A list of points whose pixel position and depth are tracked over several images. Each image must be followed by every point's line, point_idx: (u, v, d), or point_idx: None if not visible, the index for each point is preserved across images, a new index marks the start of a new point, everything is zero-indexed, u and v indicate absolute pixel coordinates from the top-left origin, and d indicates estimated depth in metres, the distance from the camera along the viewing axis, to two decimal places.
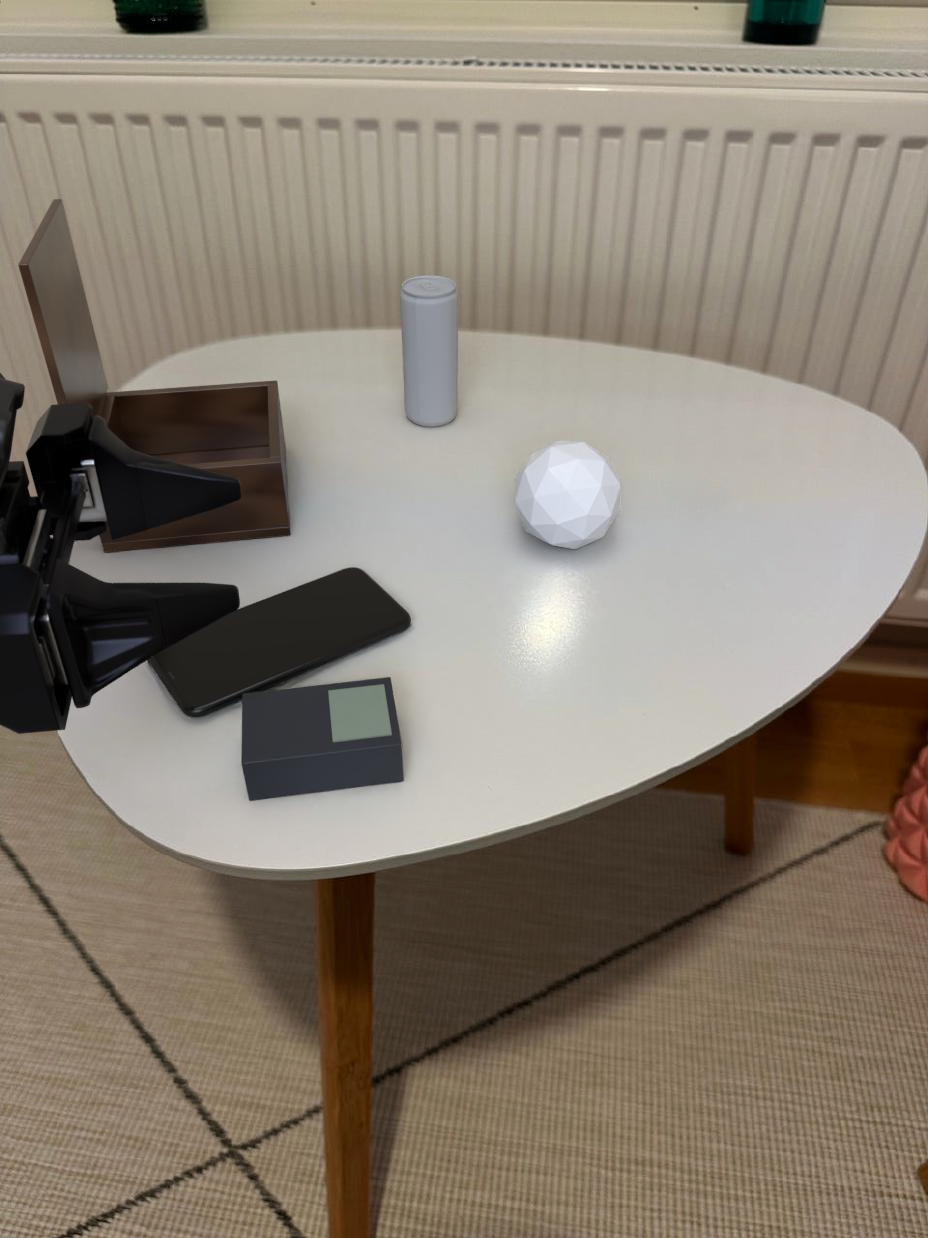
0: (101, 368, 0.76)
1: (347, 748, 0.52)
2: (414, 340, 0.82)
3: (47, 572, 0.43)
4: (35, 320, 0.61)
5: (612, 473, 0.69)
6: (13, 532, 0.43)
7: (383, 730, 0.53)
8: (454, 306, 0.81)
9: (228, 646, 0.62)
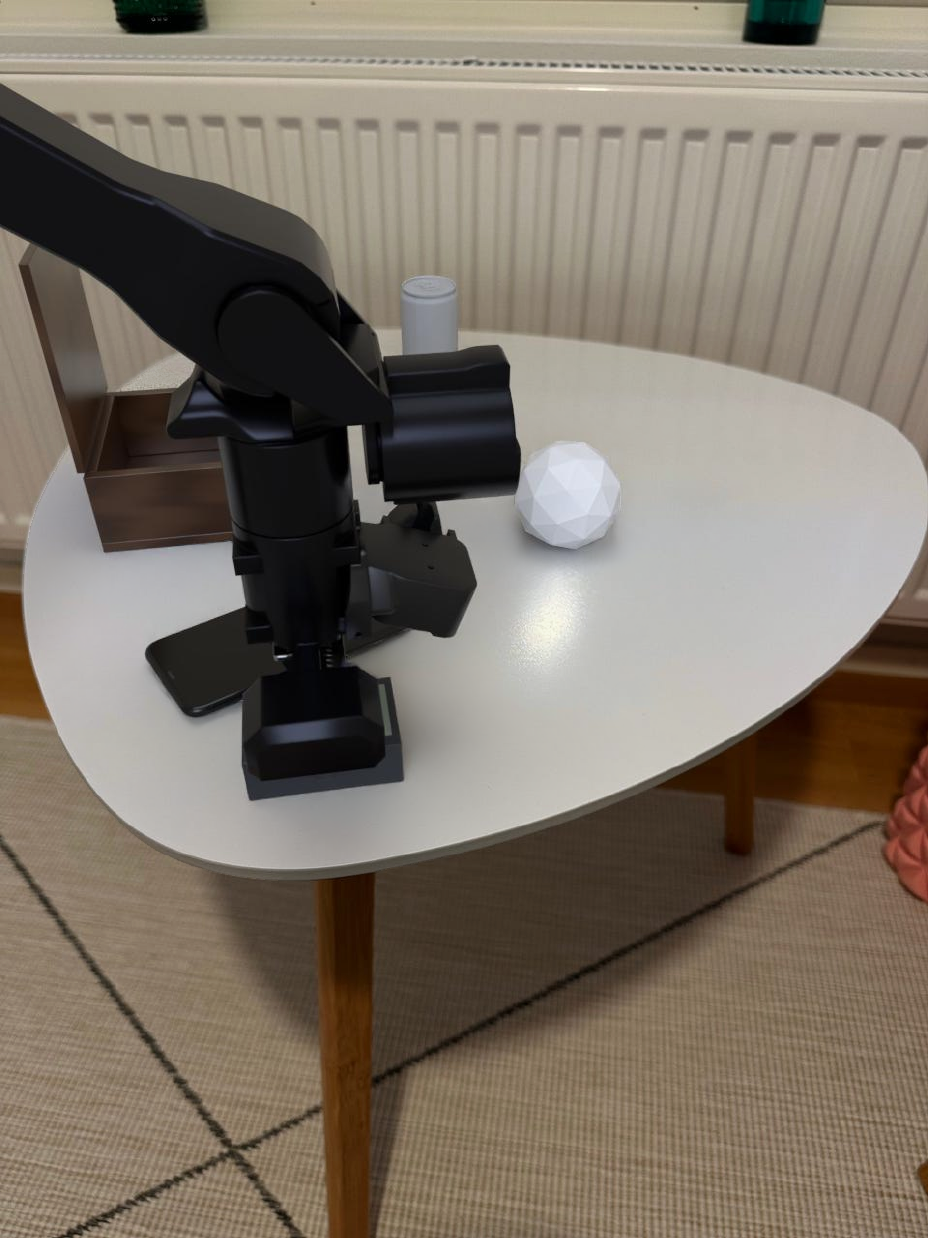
0: (101, 368, 0.76)
1: None
2: (414, 340, 0.82)
3: None
4: (35, 320, 0.61)
5: (612, 473, 0.69)
6: None
7: None
8: (454, 306, 0.81)
9: (228, 646, 0.62)
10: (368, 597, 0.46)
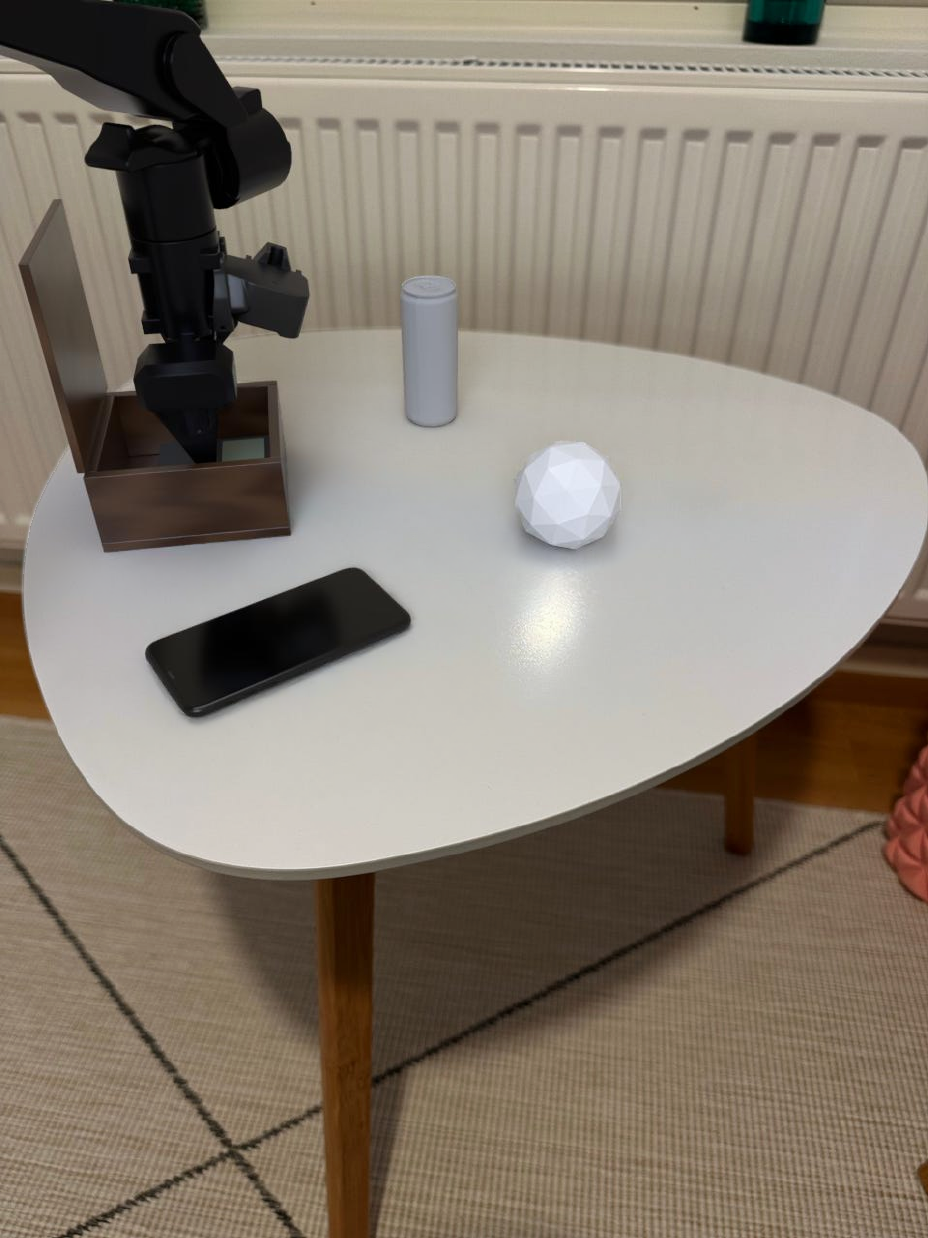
0: (101, 368, 0.76)
1: None
2: (414, 340, 0.82)
3: None
4: (35, 320, 0.61)
5: (612, 473, 0.69)
6: None
7: None
8: (454, 306, 0.81)
9: (228, 646, 0.62)
10: (227, 295, 0.65)
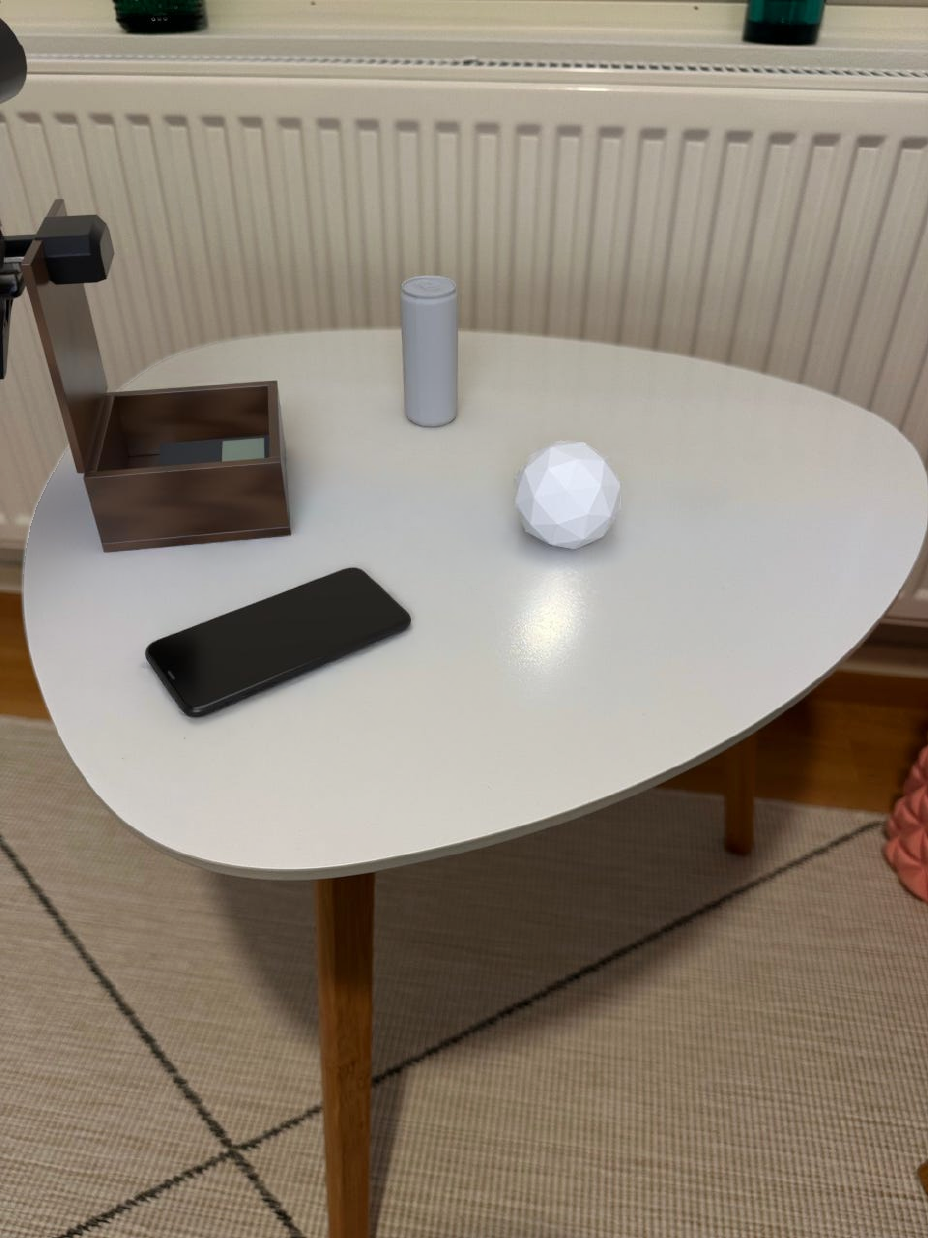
0: (101, 368, 0.76)
1: None
2: (414, 340, 0.82)
3: None
4: (37, 320, 0.61)
5: (612, 473, 0.69)
6: None
7: None
8: (454, 306, 0.81)
9: (228, 646, 0.62)
10: None
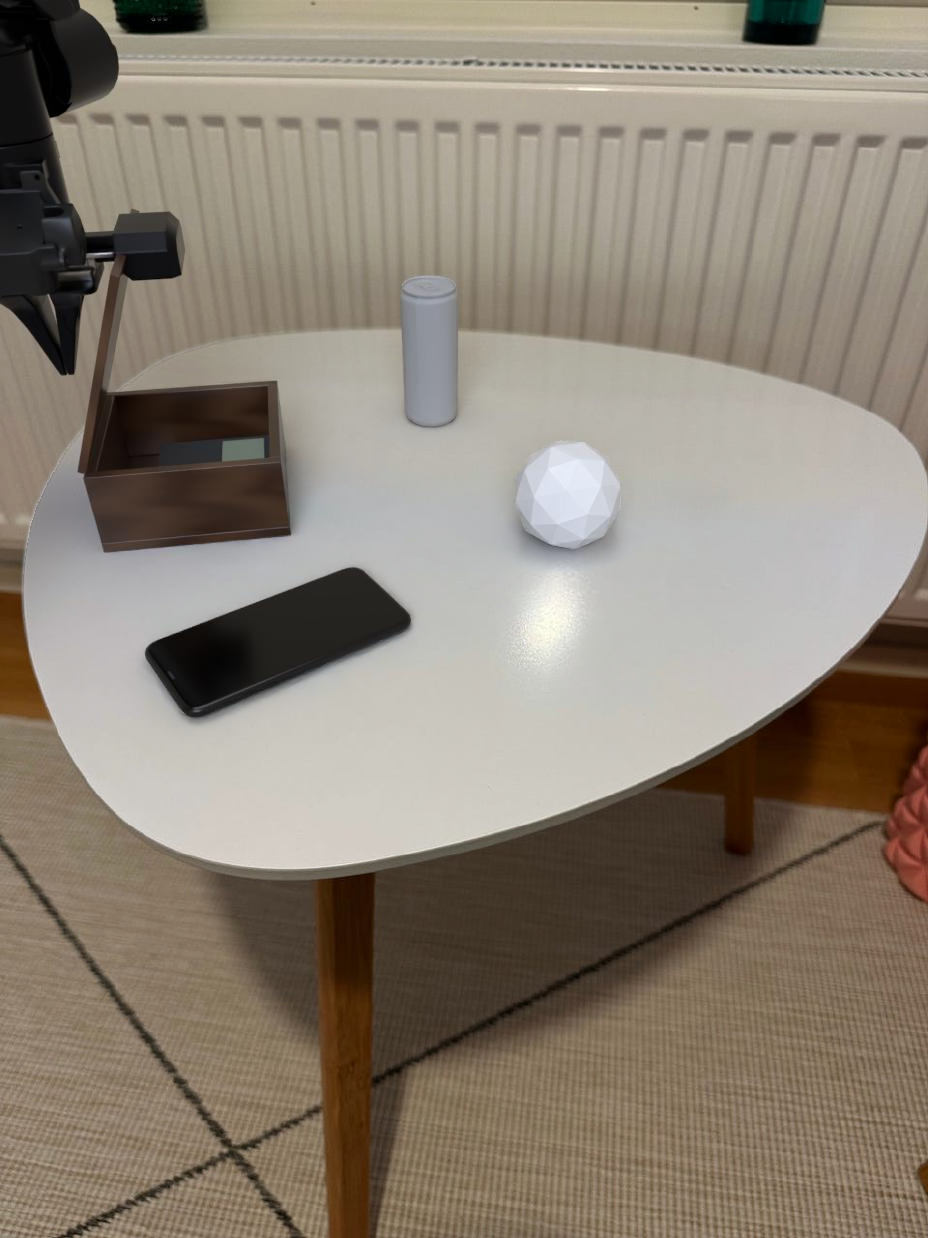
0: (111, 370, 0.76)
1: None
2: (414, 340, 0.82)
3: None
4: (103, 326, 0.61)
5: (612, 473, 0.69)
6: None
7: None
8: (454, 306, 0.81)
9: (228, 646, 0.62)
10: None
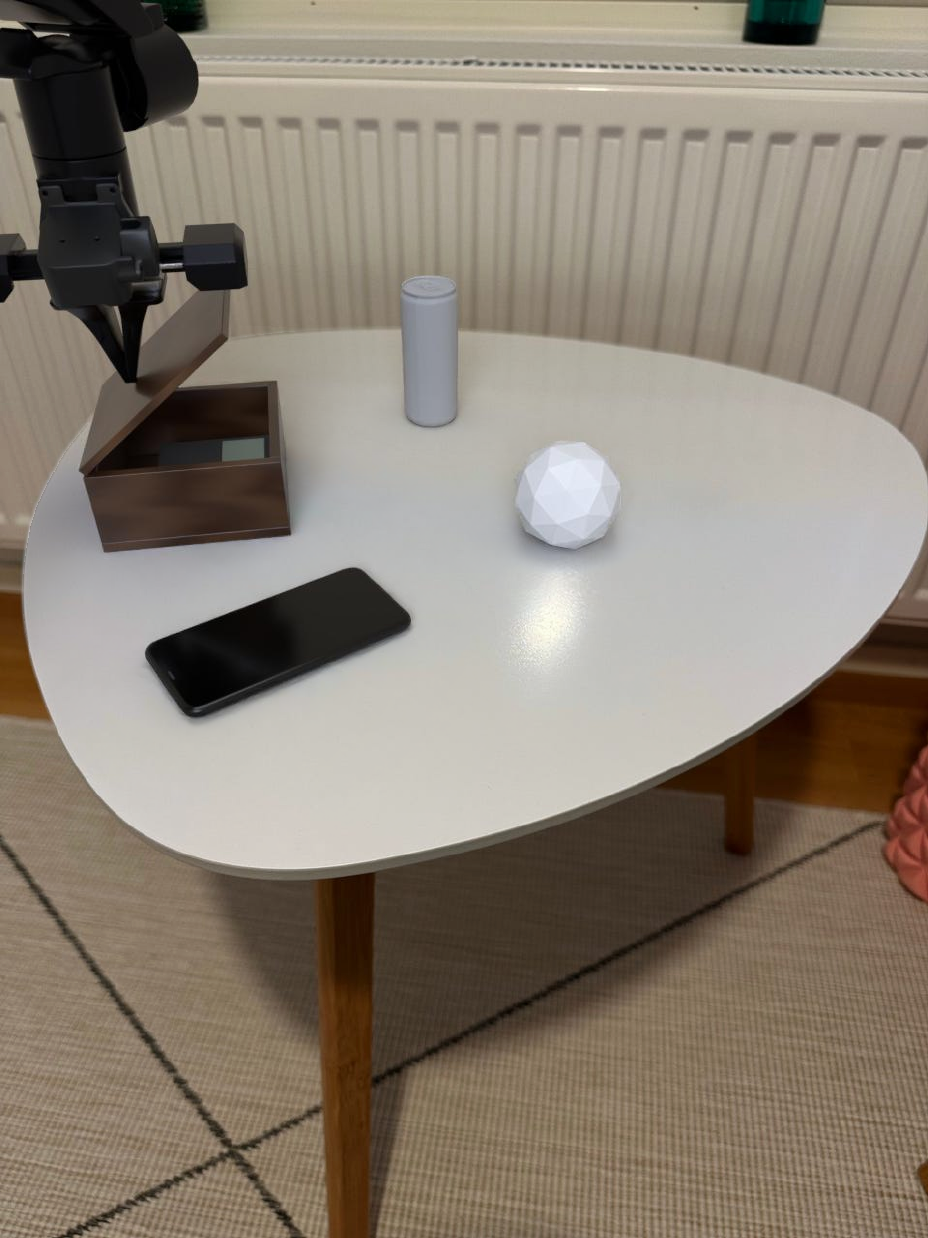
0: None
1: None
2: (414, 340, 0.82)
3: None
4: (186, 369, 0.64)
5: (612, 473, 0.69)
6: None
7: None
8: (454, 306, 0.81)
9: (228, 646, 0.62)
10: (39, 226, 0.61)
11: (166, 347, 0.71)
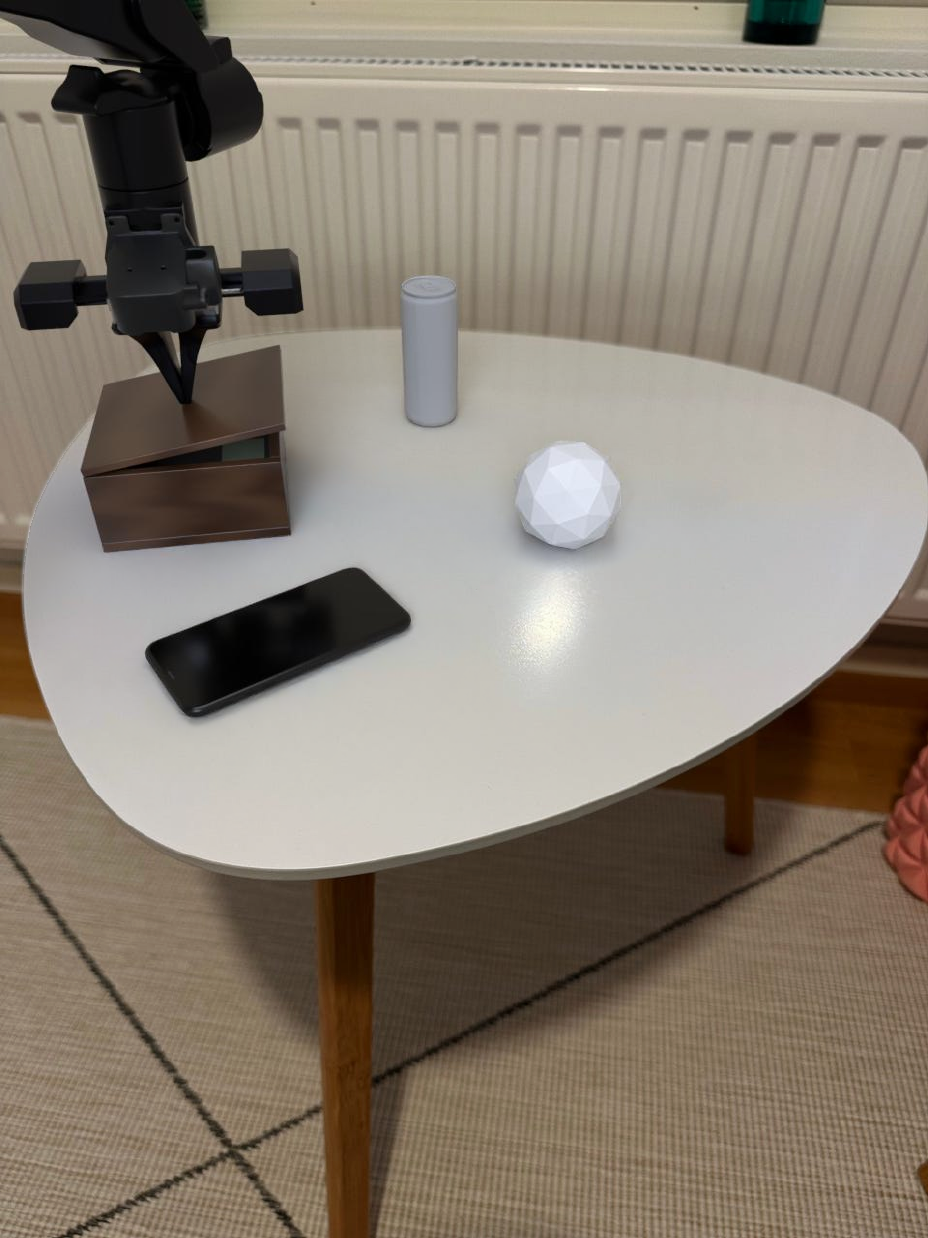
0: None
1: None
2: (414, 340, 0.82)
3: None
4: (235, 435, 0.68)
5: (612, 473, 0.69)
6: None
7: None
8: (454, 306, 0.81)
9: (228, 646, 0.62)
10: None
11: (202, 394, 0.73)
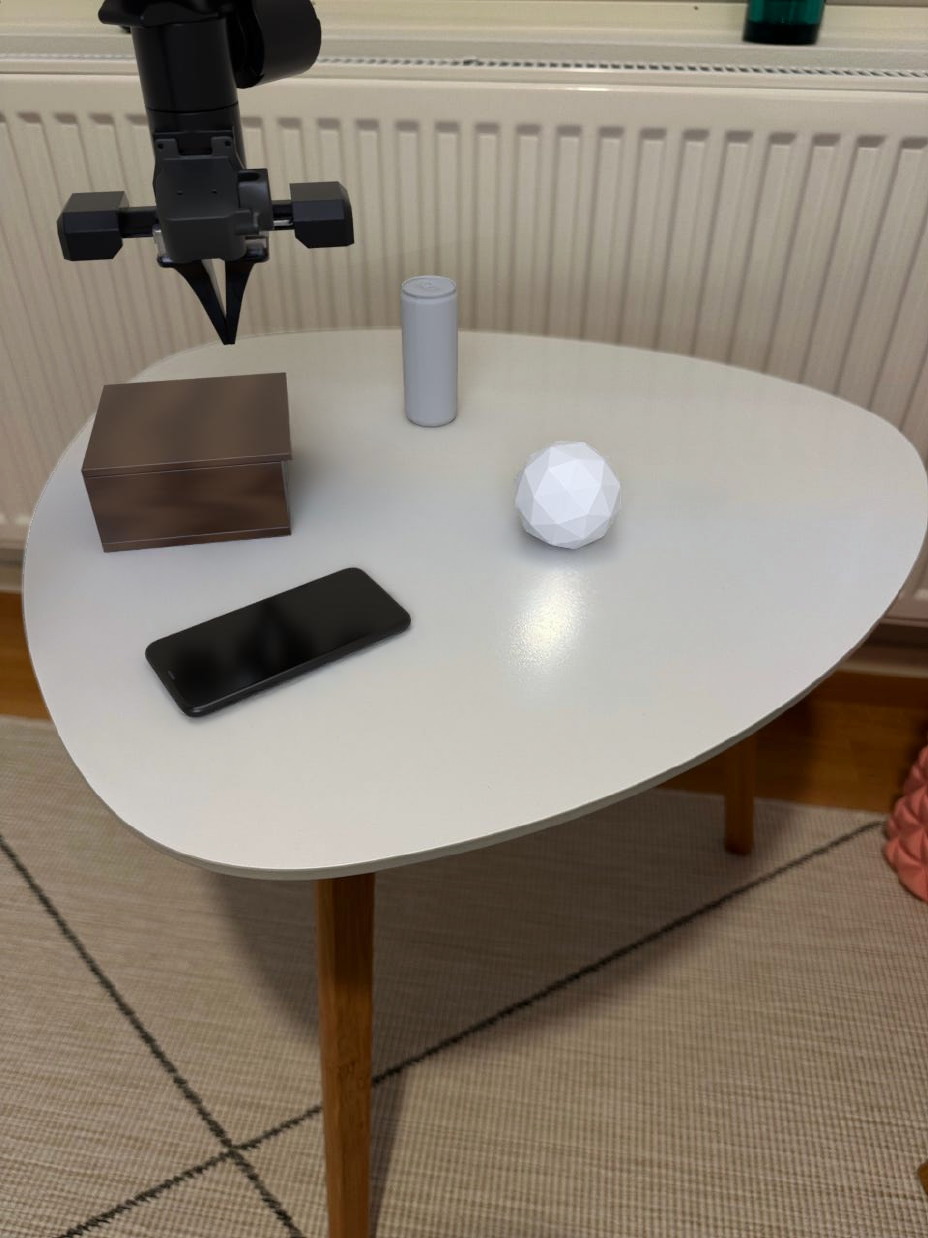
0: None
1: None
2: (414, 340, 0.82)
3: None
4: (241, 458, 0.69)
5: (612, 473, 0.69)
6: None
7: None
8: (454, 306, 0.81)
9: (228, 646, 0.62)
10: None
11: (207, 411, 0.74)
